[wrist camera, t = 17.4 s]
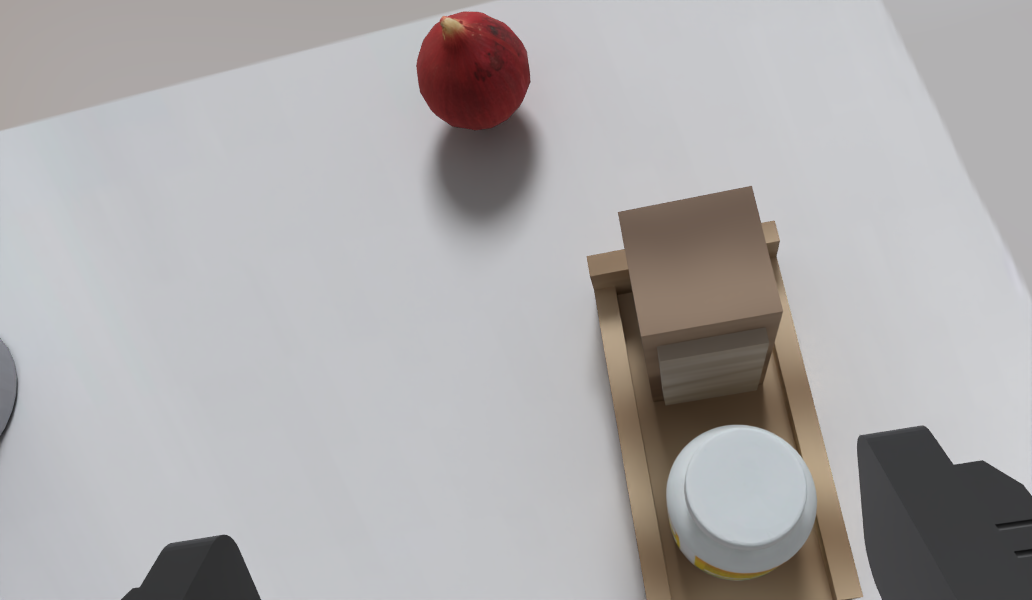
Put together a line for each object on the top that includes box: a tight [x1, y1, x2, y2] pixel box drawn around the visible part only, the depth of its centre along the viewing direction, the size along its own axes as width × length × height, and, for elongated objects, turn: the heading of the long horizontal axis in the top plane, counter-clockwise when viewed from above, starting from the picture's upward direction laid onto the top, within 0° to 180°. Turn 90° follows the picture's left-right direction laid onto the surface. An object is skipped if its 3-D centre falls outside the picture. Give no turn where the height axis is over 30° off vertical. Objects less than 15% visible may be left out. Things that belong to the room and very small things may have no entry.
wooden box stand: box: [587, 186, 863, 600], centre depth 36 cm, size 16×8×12 cm, turn 7°
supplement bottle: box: [666, 425, 817, 581], centre depth 34 cm, size 5×5×10 cm
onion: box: [416, 12, 530, 130], centre depth 46 cm, size 6×6×8 cm
